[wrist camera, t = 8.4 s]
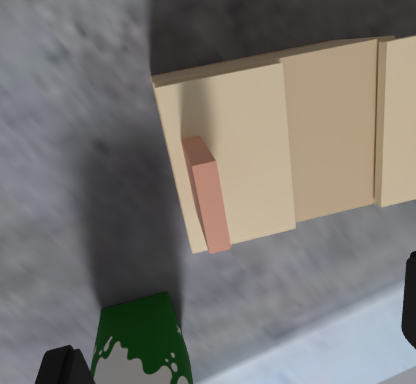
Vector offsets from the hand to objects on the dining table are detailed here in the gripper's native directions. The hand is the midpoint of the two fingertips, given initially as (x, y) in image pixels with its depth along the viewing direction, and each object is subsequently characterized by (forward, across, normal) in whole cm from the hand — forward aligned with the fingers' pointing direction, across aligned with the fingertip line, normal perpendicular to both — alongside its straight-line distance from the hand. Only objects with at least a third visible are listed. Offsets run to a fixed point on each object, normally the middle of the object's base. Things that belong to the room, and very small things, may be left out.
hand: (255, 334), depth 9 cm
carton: (+23, -7, 0) cm, 24 cm away
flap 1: (+14, -3, 0) cm, 15 cm away
